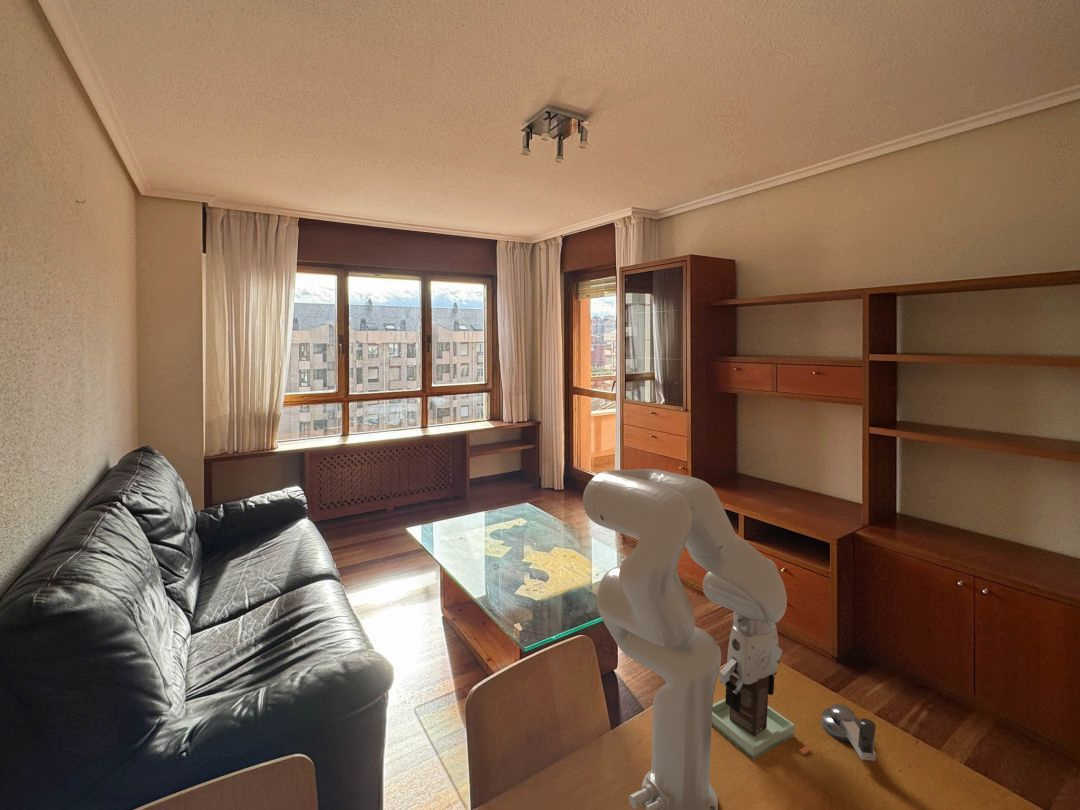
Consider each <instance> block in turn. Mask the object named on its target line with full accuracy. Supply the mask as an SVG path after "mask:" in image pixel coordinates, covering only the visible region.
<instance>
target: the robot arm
mask: <svg viewBox="0 0 1080 810" xmlns="http://www.w3.org/2000/svg"><path fill="white" fill-rule="evenodd" d="M582 505H583V510H584V511H585V514H586V515H587V517H588V518H589V520H591V521H592V522H593V523H595V524H597V526H600V527H604V528H606V529H609V530H611V531H615V532H617V533H620V534H623V535H625V536H628V537H630V538H634V539H636V540H638V542H637V544H636V546H635V548H634V550H633V551H631V552H630V553H629V554H628V555H627V556H626V557H625V558H624V560H623V562H622V563H621V564H620V565H618V566H614V567H612V568H611V569H609V570H608V571H607V572H606V573H605V574H604V575H603V577H602V579H601V580H600V582H599V584H598V587H597V588H598V589H597V595H596V596H597V597H596V601H597V609H598V613H599V615H600V618H601V620H602V621H603V623H604V625H605V627H606V628H607V630H608V632H609V633H610V635H611V636H612V638H613V640H614V641H615V643H616V645H617V646H618V648H619V650H621V652H622V653H623V654H625V656H627V657H628V658H630V659H631V660H633V661H634V662H636V663H638V664H640V665H641V666H643V667H645V668H647V669H648V670H650V671H652V672H653V673H654V674H656V675H658V676H660V677H661V678H662V679H663V680H664V681H665V682H666V683H664V684H663V685H661V686H660V687H659V689H658V690H657V691H656V693H655V695H654V698H653V703H652V737H651V739H652V741H651V742H652V743H651V769H650V770H649V771H647V773H646V774H645V776H644V777H643V779H642V782H641V783H642V784H641V789H640V790H637V791H635V792H632V793H631V794H629V795H628V802H629V804H630V805H629V806H631V808H632V809H634V810H636V809H638V808H639V807H642V806H643V805H644V807H645V809H644V810H719V801H718V800H719V799H718V796H717V792H716V790H715V788H714V787H713V785H712V783H711V782H710V773H711V771H710V770H711V748H712V746H711V745H712V727H713V726H712V708H713V704H714V697H715V690H716V687H717V686H716V685H717V681H718V677H719V680H720V683H721V684H722V685H723V686H724V687H725V698H726V699H725V698H724V699H725V702H726V704H727V705H729V706H730V707H731V708H732V709H734V710H735V711H736V712H739V711H740V708H741V693H740V692H739V690H740V689H741V687H742V685H743V683H744V684H746V685H749V684H752V683H754V682H757V680H758V679H761V678H765V677H767V676H769V688H768V696H769V695H770V696H773V695H774V694H775V693H774V692H775V679H776V678H775V676H776V675H777V673H778V672H777V671H778V669H779V665H780V659H781V657H782V653H783V649H782V648H780V647H779V635H778V629H777V625H776V623H778V622H779V621H780V620H782V618H783V617H784V615H785V613H786V611H787V606H788V596H787V590H786V587H785V584H784V581H783V579H782V576H781V575H780V572H779V571H778V570H779V569H778V566H777V564H776V563H775V562H774V561H773V560H772V559H770V558H768V557H766V556H765V555H763V554H762V553H760V552H759V551H758V550H757V549H756V548H755V547H753V545H751V544H750V543H749V542H748V541H746V540H745V539H744V538H743V537H741V536H739V535H738V534H737V533H736V532H735V529H734V527H733V525H732V523H731V521H730V519H729V517H728V515H727V513H726V510H725V509H724V506H723V504H722V502H721V500H720V498H719V496H718V494H717V492H716V491H715V489H714V488H713V487H712V485H711V484H709V483H708V482H706V481H704V480H702V479H700V478H697V477H693V476H690V475H685V474H680V473H676V472H672V471H667V470H662V469H655V468H639V469H638V468H637V469H615V470H613V469H612V470H611V469H610V470H604V471H601V472H599V473H597V474H596V475H594V476H593V477H592V478H591V479H590V480H589V482H588V483H587V485H586V486H585V488H584V491H583V495H582ZM684 549H686V550H687V553H688V554H689V556H690V557H691V559H692V560H693V562H695V563H696V564H697V565H698V566H700V567H702V568H703V570H705V571H707V572H706V574H705V576H704V578H703V580H702V590H703V594H704V595H705V596H706V598H707V599H708V600H709V601H711V602H712V603H714V604H716V605H719V606H720V607H723V608H725V609H728V610H731V611H733V621H732V627H731V631H730V636H729V641H728V648H727V658H726V659H727V660H726V664H725V665H724V666H723V667H722V668H721V664H722V652H721V648H720V646H719V644H718V642H717V640H715V639H714V637H712V636H711V634H709V633H708V632H706V631H705V630H703V629H702V628H700V627H697V626H696V619H695V614H694V611H693V608H692V604H691V602H690V600H689V598H688V594H687V592H686V591H685V589H684V586H683V584H682V582H681V578H680V576H679V574H678V571H677V570H678V565H679V561H680V560H681V559H680V558H681V556H682V554H683V552H684ZM720 668H721V669H720ZM737 671H738V675H737V674H736V672H737ZM734 676H735V677H736V678H737V679H738V681H737V683H736V684H735V685H734V684H733V683H732V680H733V678H734Z"/></svg>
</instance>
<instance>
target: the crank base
mask: <svg viewBox="0 0 1080 810" xmlns="http://www.w3.org/2000/svg"><path fill="white" fill-rule="evenodd" d="M831 708H832V707H828V708H825V709H823V711H822V713H821V715H822V716H821V727H822V728H823V730H824V731H825V732H826V733H827V734H828V735H829V736H831V737H832V738H834V739H836V740H839V741H841V742H844V743H851V742H850V740H849V739H848V737H847V736H846V734H845V732H844V731H843V729H842V728H841V726H840V725H839V724H837V723H836V722H834V721H833V720H832V718H831ZM860 720H861V719H859V718H858V717H857V716H856V715H854V721H855V723H856V724H857V726H858V727H859V728H860ZM810 752H811V748H809V747H808V746H807V745H805V746H803V747H802V748H800V749H798V753H800V754H801V755H803V756H806V755H807V754H809V753H810Z"/></svg>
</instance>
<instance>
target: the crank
mask: <svg viewBox="0 0 1080 810" xmlns="http://www.w3.org/2000/svg"><path fill="white" fill-rule="evenodd" d="M830 708H831V718H832V720H833V721H834V722H836V723H837V724H839V725H840V726H841V728H842V729H843V731H844V732H845V734H846V736H847V737H848V739H849V740H850V742H851V745H852V746H853V748H854V750H855V751H856V753H857V755H858V756H859V758H860V759H861V760H863V761H874V762H876V759H877V753H876V752H875V750H874V749H875V748H874V747H875V739H876V729H877V728H876V725H877V724H876V723H875V722H874V721H872V720H871V719H869V718H860V719H859V720H860V728H859V727H858V726H857V724H856V723H855V721H854V715H855V712H854V711H853V709H851V707H848V706H847V705H843V704H841V703H839V704H838V703H834V704H833V705H831V707H830ZM855 716H856V715H855Z"/></svg>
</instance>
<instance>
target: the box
mask: <svg viewBox="0 0 1080 810" xmlns="http://www.w3.org/2000/svg"><path fill="white" fill-rule="evenodd" d="M736 674H737V675H738V671H737V672H736ZM737 681H738V679H737V678H736V677H735V676H734V678H733V680H732V683H733V684H734V685H735V684H736V683H737ZM768 688H769V676H767V677H765V678H761V679H758V680H757V682H754V683H752V684H749V685H746V684H744V683H743V685H742V687H741V689H740V690H739V692H740V693H741V708H740V711H739V712H736V711H735V710H734V709H732V708H731V707H730V720H731V721H733V722H734V723H736V724H737V725H739V726H740V727H742V728H743V729H745V730H746V731H748V732H749V733H751V734H752V735H753V736H757V735H758V734H759V733H761V732H762V731H763V730H764V729H766V728H767V708H768V706H769V694H768Z"/></svg>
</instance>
